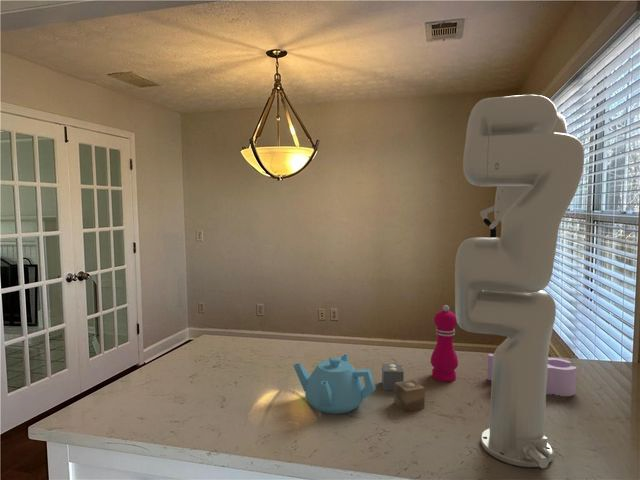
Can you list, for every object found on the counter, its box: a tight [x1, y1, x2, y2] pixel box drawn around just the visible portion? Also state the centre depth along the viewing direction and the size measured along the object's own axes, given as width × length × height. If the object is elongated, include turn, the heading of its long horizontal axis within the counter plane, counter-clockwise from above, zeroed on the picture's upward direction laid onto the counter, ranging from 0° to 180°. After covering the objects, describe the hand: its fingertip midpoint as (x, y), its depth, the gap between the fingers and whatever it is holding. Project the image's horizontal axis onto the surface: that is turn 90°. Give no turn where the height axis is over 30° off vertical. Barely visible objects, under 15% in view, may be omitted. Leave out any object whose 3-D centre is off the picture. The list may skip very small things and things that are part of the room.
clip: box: [486, 353, 578, 397], centre depth 112 cm, size 20×12×7 cm, turn 79°
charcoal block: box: [381, 363, 405, 391], centre depth 112 cm, size 5×5×5 cm
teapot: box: [293, 353, 377, 415], centre depth 102 cm, size 15×15×11 cm
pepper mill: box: [430, 304, 459, 382], centre depth 118 cm, size 7×7×20 cm
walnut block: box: [393, 379, 426, 413], centre depth 101 cm, size 5×5×5 cm
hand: (514, 245), depth 110 cm, fingers open, 9 cm apart
